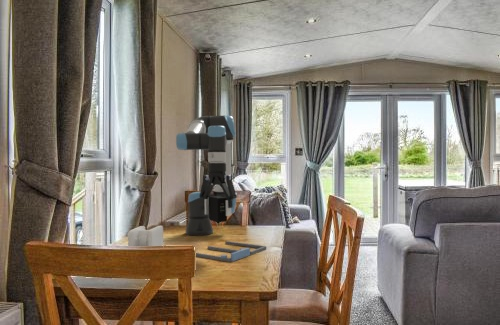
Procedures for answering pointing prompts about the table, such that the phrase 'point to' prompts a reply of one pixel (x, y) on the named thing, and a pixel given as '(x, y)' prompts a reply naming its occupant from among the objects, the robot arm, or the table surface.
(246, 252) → the grey flat frame
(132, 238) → the cable organizer
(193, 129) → the robot arm
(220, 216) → the electronic device
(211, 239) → the table surface
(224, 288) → the table surface
